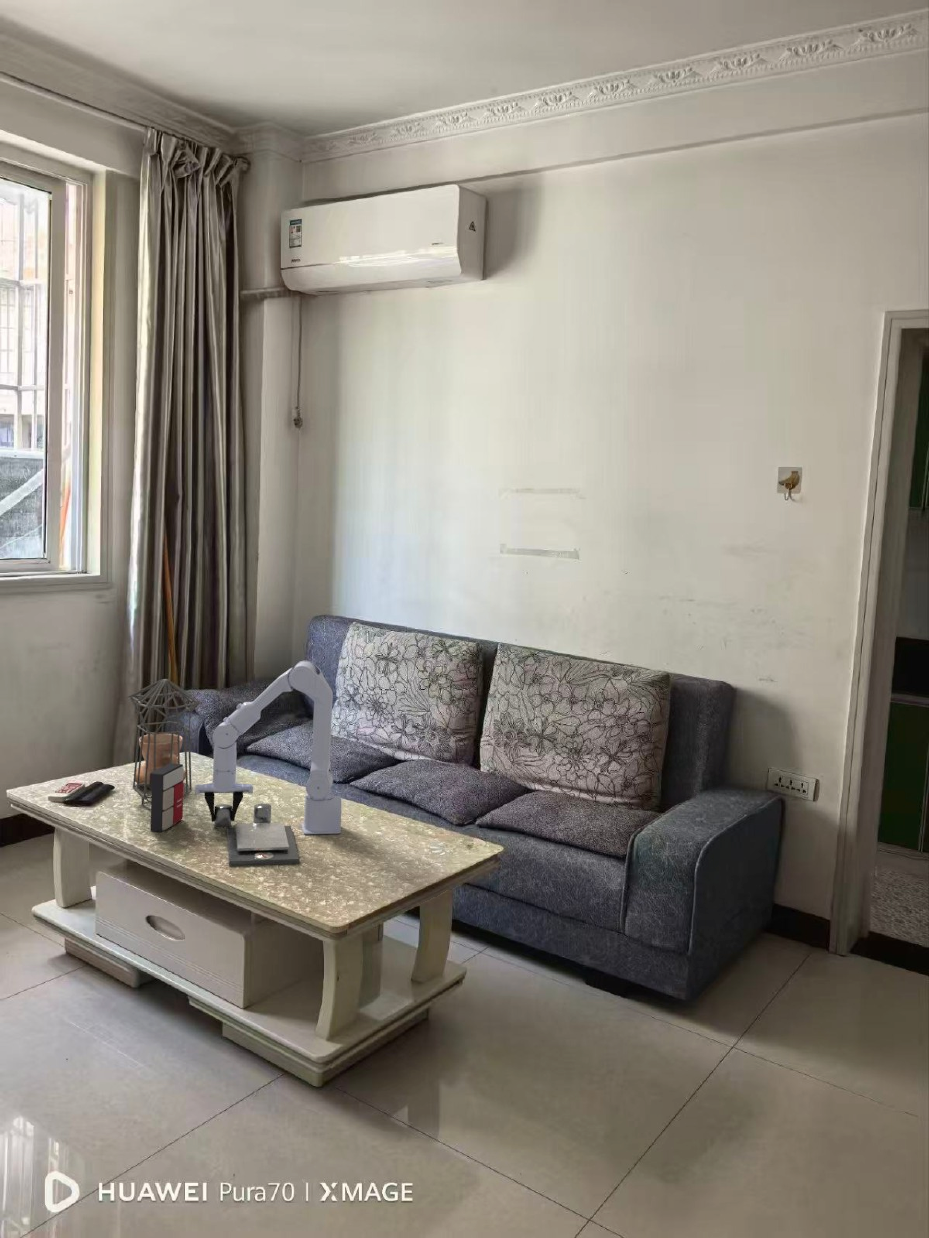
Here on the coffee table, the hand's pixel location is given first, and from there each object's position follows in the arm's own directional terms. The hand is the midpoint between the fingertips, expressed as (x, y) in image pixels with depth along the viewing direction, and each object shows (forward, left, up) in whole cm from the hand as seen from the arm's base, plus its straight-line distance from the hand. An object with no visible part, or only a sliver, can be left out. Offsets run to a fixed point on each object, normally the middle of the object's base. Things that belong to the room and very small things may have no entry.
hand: (222, 820), depth 258 cm
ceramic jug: (+17, -36, -2) cm, 40 cm away
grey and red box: (+14, -1, -2) cm, 14 cm away
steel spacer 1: (0, 0, -1) cm, 1 cm away
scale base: (-9, +17, -1) cm, 19 cm away
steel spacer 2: (-10, 0, -2) cm, 10 cm away
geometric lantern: (+16, -17, -2) cm, 23 cm away
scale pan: (-9, +15, 0) cm, 17 cm away
